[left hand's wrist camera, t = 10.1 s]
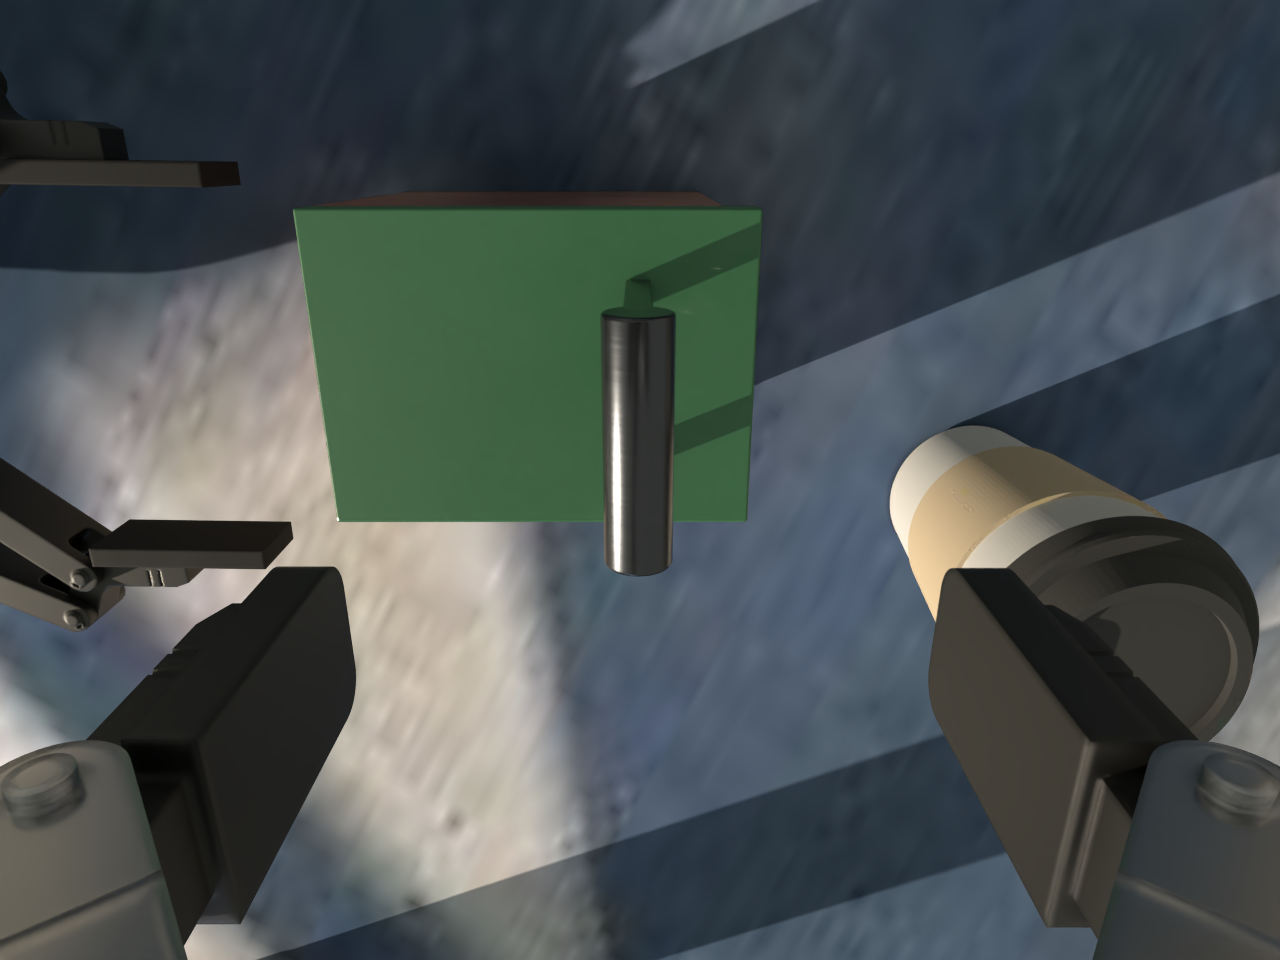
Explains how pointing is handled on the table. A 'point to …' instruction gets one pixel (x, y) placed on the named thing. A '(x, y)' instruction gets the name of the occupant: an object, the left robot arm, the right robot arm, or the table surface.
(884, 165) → the table surface
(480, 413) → the lid
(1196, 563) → the coffee cup
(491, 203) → the chest
